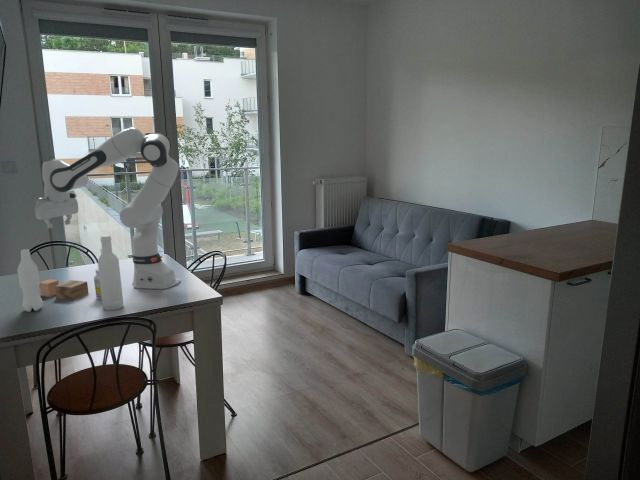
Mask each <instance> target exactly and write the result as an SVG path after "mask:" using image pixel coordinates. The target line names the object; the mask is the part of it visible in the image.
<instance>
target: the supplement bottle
mask: <svg viewBox="0 0 640 480" xmlns="http://www.w3.org/2000/svg"><path fill="white" fill-rule="evenodd" d="M95 274H96V275H94V277H93V282H94V290H95V296H96V297H95V298H97V300H102V295H101V286H100V277H99V269H98V268H96V269H95Z"/></svg>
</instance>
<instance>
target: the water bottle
mask: <svg viewBox="0 0 640 480" xmlns="http://www.w3.org/2000/svg"><path fill="white" fill-rule="evenodd" d="M31 255H32V254H31V253H30V249H21V250H20V262H19V263H18V265H17V266H18V267H17V270H16V271H17V275H18V276H17V277H18V283H19V287H20V289H21V291H22V297H23V301H22V303H21V305H22V307H23V309H24V310H25V312H28V313H29V312H32V310H34V311H35V312H37V311H39V310H40V309H42V308H43V302H44V301H43V299H42V296H41V294H40V285H39V284H40V282H41V281H40V276H39V268H38V265H37V264H36V263H35V262H34V260H33V259H32V257H31Z"/></svg>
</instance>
